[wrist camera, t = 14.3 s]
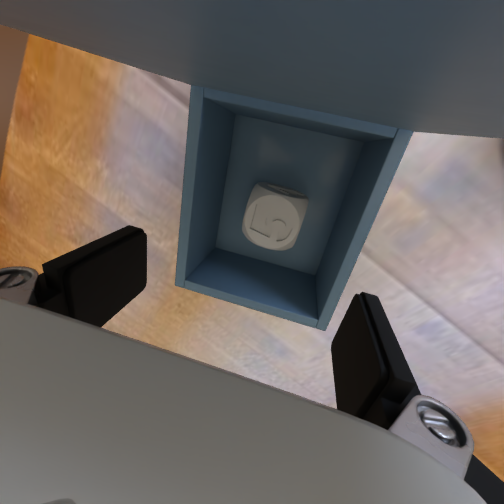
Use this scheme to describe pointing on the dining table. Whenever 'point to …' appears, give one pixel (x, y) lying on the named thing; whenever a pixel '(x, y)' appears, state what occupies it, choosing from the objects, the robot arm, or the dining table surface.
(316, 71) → the lid
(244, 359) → the dining table surface
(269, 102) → the chest
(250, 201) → the die
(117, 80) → the dining table surface
